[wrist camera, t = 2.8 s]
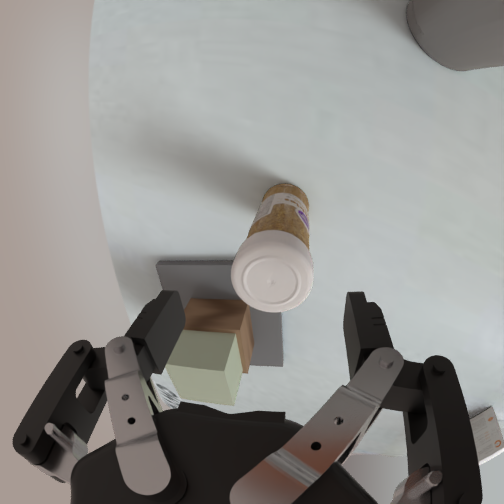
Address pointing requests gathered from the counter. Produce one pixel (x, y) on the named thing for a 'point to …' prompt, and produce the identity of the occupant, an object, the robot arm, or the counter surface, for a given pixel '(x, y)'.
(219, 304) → the walnut base block
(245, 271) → the sprinkles bottle
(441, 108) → the counter surface
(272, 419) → the robot arm
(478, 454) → the small box
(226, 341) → the sage top block
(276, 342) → the slate board
